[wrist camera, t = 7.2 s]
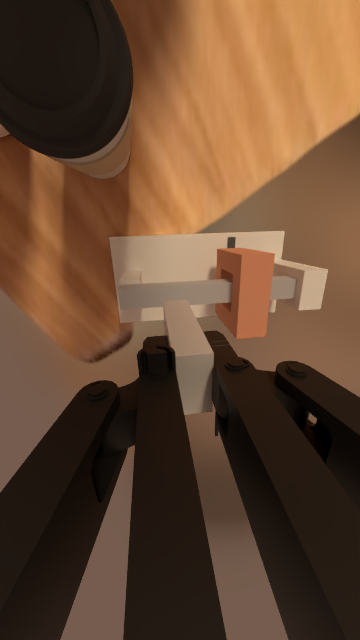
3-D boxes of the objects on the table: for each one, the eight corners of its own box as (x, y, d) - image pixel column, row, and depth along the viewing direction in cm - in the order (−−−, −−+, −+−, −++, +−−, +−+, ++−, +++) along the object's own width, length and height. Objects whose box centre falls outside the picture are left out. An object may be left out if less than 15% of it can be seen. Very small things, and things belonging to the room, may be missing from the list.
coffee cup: (120, 206, 27) (89, 180, 13) (40, 160, 25) (-98, 70, 11) (154, 125, 25) (161, -7, 11) (71, 65, 23) (-55, -199, 9)
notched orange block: (217, 248, 27) (241, 254, 20) (241, 247, 28) (275, 253, 20) (215, 312, 30) (236, 339, 23) (237, 311, 31) (265, 336, 23)
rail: (110, 236, 28) (90, 239, 19) (281, 231, 31) (338, 230, 21) (120, 321, 32) (109, 357, 23) (272, 310, 35) (317, 339, 25)
